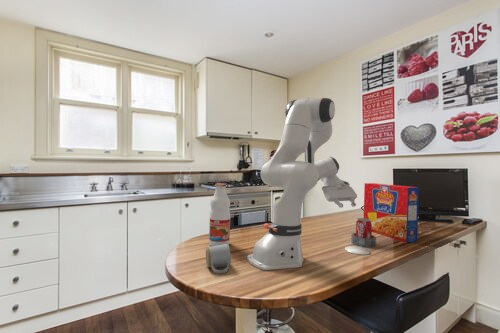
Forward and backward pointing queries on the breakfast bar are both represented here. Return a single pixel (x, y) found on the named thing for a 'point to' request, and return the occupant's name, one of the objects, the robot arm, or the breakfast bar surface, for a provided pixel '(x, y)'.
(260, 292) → the breakfast bar surface
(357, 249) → the coaster
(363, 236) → the soda can
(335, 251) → the breakfast bar surface
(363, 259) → the breakfast bar surface
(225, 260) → the ceramic mug
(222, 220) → the fruit juice
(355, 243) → the metal collar
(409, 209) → the pasta box
